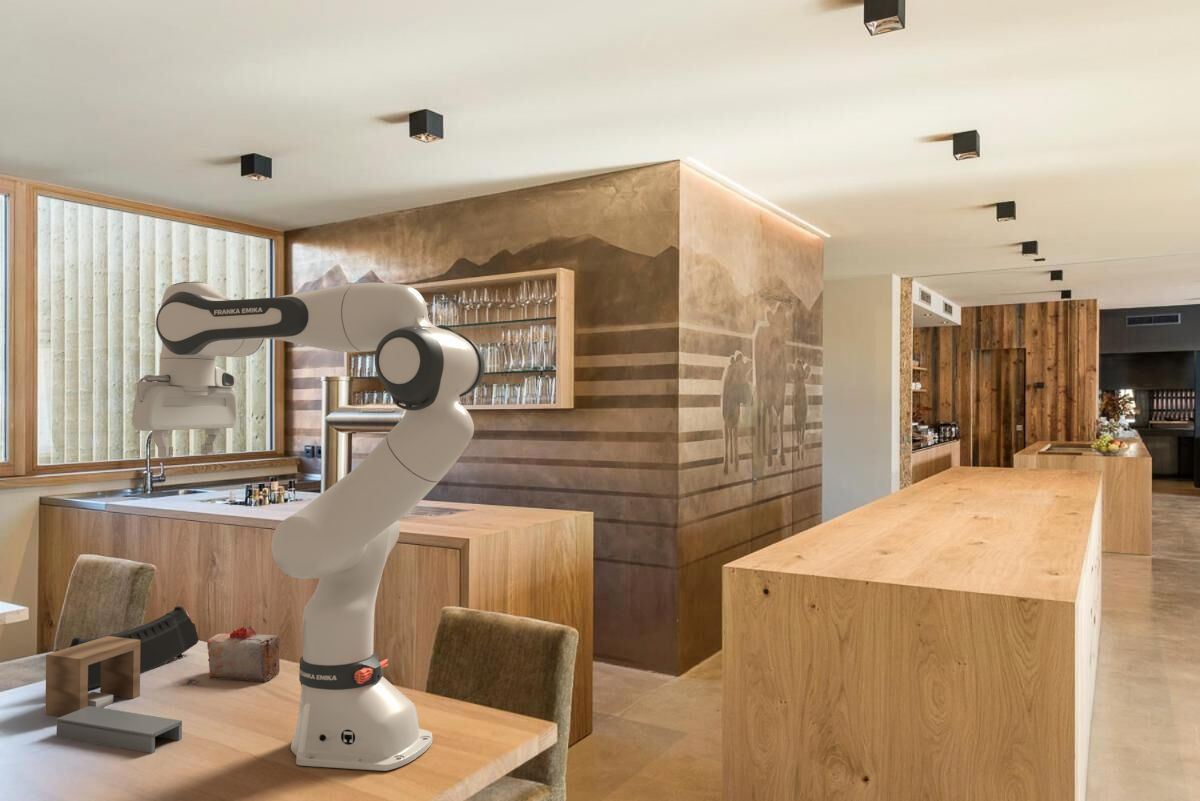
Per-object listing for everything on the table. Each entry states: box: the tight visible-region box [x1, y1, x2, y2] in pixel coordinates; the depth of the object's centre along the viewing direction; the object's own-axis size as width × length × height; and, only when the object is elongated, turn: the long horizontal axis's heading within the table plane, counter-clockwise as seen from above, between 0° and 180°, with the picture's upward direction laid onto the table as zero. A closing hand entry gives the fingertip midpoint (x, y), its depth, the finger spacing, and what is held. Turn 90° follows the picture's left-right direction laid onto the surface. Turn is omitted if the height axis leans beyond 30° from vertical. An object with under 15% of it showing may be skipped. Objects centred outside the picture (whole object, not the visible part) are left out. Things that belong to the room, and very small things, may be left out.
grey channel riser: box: [56, 706, 183, 754], centre depth 137 cm, size 20×6×3 cm, turn 72°
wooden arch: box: [44, 635, 141, 717], centre depth 152 cm, size 8×12×10 cm, turn 162°
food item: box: [206, 624, 281, 682], centre depth 168 cm, size 14×8×10 cm, turn 81°
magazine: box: [69, 606, 200, 689], centre depth 168 cm, size 17×3×30 cm
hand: (187, 455), depth 145 cm, fingers open, 8 cm apart
